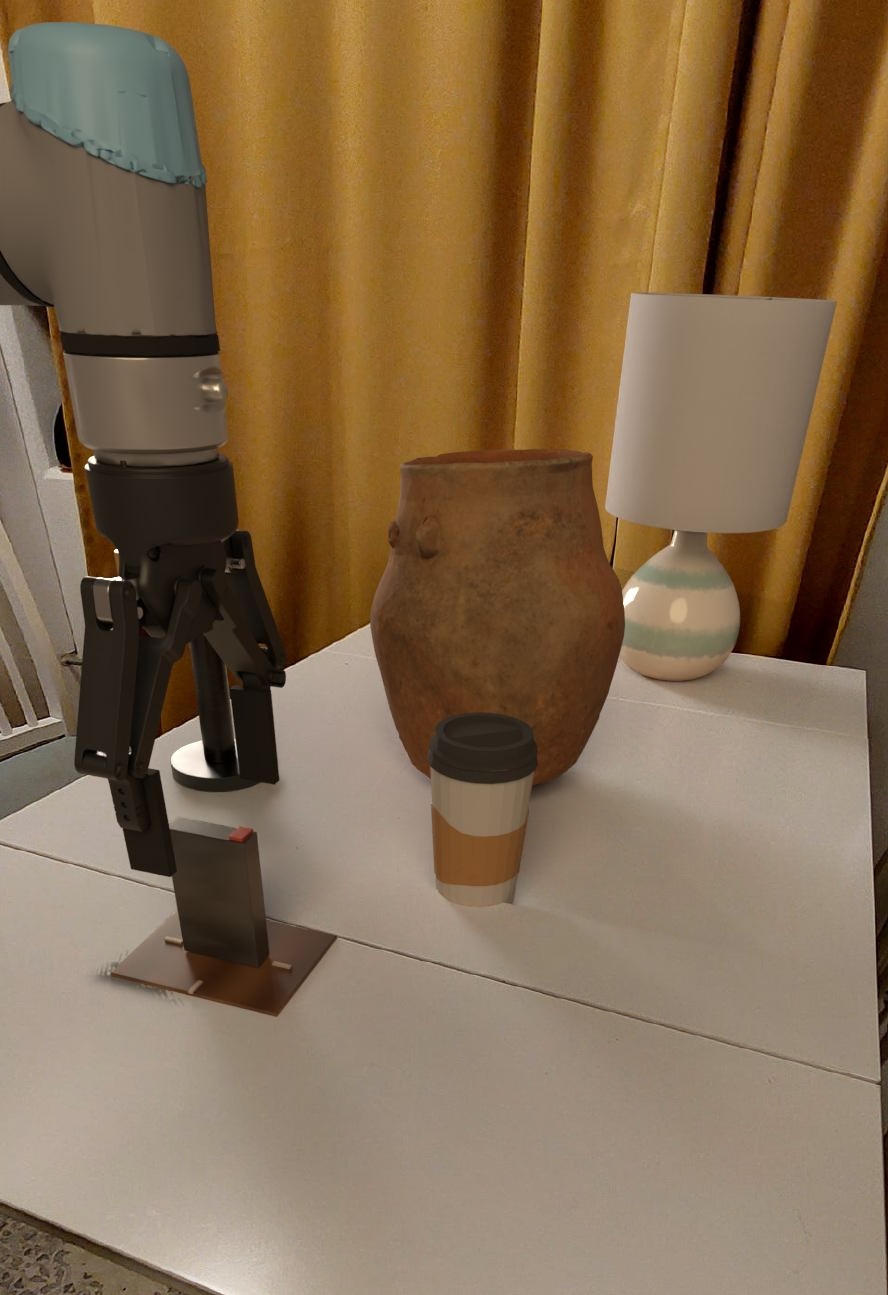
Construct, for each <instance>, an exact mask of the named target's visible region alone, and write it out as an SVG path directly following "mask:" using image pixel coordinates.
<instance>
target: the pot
mask: <svg viewBox="0 0 888 1295" xmlns="http://www.w3.org/2000/svg"><path fill="white" fill-rule="evenodd" d="M593 458H594V455H593V454H591V452H588V451H584V452H583V451H580V450H577V449H576V450H574V449H573V450H571V449H565V448H561V449H560V448H559V449H557V448H556V449H550V448H528V449H488V450H487V449H486V450H470V451H469V450H467V451H466V450H465V451H453V452H446V453H440V454H438V455H436V456H423V457H416V458H414V459H412V460H409V461H405V462H402V463H400V465H399V475H400V479H399V480H400V483H399V500H398V505H397V509H396V515H395V520H394V521H390V523H389V525H388V529H387V541H388V543H389V545H390V551H389V552H390V553H389V558H388V562H387V565H386V567H385V569H384V571H383V574H382V576H381V578H380V581H379V582H378V583H379V584H378V586H377V588H376V590H375V593H374V597H373V601H372V604H371V608H370V612H369V615H370V616H369V627H370V633H371V639H372V644H373V645H372V646H373V650H374V654H375V658H376V662H377V666H378V669H379V672H380V676H381V680H382V684H383V688H384V692H385V696H386V701H387V704H388V707H389V708H388V709H389V711H390V715H391V716H392V720H393V723H394V726H395V729H396V731H397V733H398V738H399V741H401V743H402V746H403V748H404V750H405V752H406V753H407V756H408V758H409V760H410V762H411V764H412V766H414V768H416V770H418V771H419V772H421V773H422V774H424V775H425V776H426V777H428V779H430V780H431V769H430V765H429V763H428V761H427V760H428V753H429V744H430V740H431V738H432V737H433V736H434V735H435V728H436V726H437V724H438V723H439V722H440V721H442V720H443V719H445V718H447V717H450V716H453V715H458V714H463V713H474V712H484V713H496V714H503V715H507V716H511V717H514V718H516V719H519V720H522V721H523V722H525V723H526V724H528V725H529V726H530V727H531V728H532V730H533V735H534V741H535V742H536V743H537V748H538V753H537V760H538V766H537V768H536V770H535V771H534V777H533V783H532V786H535V785H538V784H542V783H546V782H551V781H552V780H554V779H557V778H558V777H560V776H561V775H563V774H564V773H566V772H568V770H570V769H571V768H572V767H573V766H574V765H575V764H576V763H577V761H578V760H579V759H580V756H581V755H582V753H583V751H584V749H585V748H586V745H587V744H588V742H589V740H590V738H591V736H592V734H593V732H594V730H595V728H596V725H597V724H598V722H599V720H600V717H601V716H600V715H601V712H602V710H603V708H604V705H605V703H606V701H607V698H608V697H609V696H608V695H609V693H610V689H611V686H612V682H613V679H614V676H615V673H616V668H617V666H618V662H619V659H620V657H619V655H620V651H621V647H622V643H623V638H624V632H625V611H624V603H623V595H622V590H623V588H622V585H621V581H620V579H619V577H618V575H617V573H616V572H615V570H614V568H613V567H612V565H611V563H610V562H609V559H608V556H607V553H606V550H605V547H604V546H605V545H604V538H603V529H602V523H601V517H600V516H601V515H600V511H599V510H600V509H599V507H598V502H597V498H596V494H595V490H594V487H593V486H594V485H593Z"/></svg>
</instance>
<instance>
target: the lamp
mask: <svg viewBox="0 0 888 1295" xmlns="http://www.w3.org/2000/svg"><path fill="white" fill-rule="evenodd" d="M837 304H838V301H837V300H831V299H816V298H815V299H814V298H800V297H799V298H797V297H776V296H755V295H731V294H709V293H708V294H705V293H680V292H679V293H678V292H631V293H630V299H629V306H628V307H629V309H628V317H627V325H626V330H625V331H626V332H625V342H624V348H623V356H622V357H623V358H622V365H621V372H620V373H621V374H620V382H619V390H618V397H617V398H618V399H617V406H616V414H615V415H616V416H615V422H614V431H613V440H612V446H611V454H610V455H611V456H610V463H609V471H608V480H607V489H606V498H605V504H604V509H605V511H606V512H607V513H608V514H610V515H611V516H612V517H613V516H614V517H615V518H618V519H619V520H623V521H627V522H629V523H634V524H636V525H637V524H638V525H642V526H648V527H651V528H659V529H664V530H672V531H673V535H672V537H671V541H670V543H669V545H667V546H665V547H664V548H662V549H661V550H659V551H657V552H656V553H655V554H654V555H652V556H651V557H650V558H649V559H647V560H646V561H645V562H644V563H643V564H642V565H641V566H640V567H638V569H637V570H636V571H635V572H634V573H632V575H631V576H630V578H629V579H628V581H627V582H626V583H625V585H624V587H623V588H622V595H623V603H624V611H625V632H624V638H623V643H622V647H621V651H620V655H619V659H620V660H621V661H622V662H623V663H624V664H625V665H626V666H627V667H628V668H630V669H631V670H632V671H634V672H636V673H638V674H640V675H642V676H645V677H647V678H650V679H655V680H659V681H666V682H682V681H683V682H684V681H689V680H695V679H699V678H703V677H704V676H706V675H708V674H710V673H713V672H714V671H716V670H717V669H718V668H720V667H721V666H722V665H723V664H724V663H725V662H726V660H727V659H729V656H730V655H731V653H732V652H733V650H734V649H735V646H736V644H737V642H738V641H737V640H738V637H739V633H740V628H741V608H740V602H739V598H738V594H737V590H736V587H735V585H734V582H733V580H732V579H731V577H730V575H729V573H728V571H727V570H726V569H725V567H724V566H723V564H722V563H721V562H720V560H719V559H718V557H717V556H716V555H714V553H713V552H712V551H711V550H710V549H709V548H708V546H707V544H708V534H747V533H748V534H749V533H759V532H766V531H772V530H775V529H779V528H781V527H783V526H784V525H785V524H786V523H787V521H788V516H789V513H790V512H789V511H790V508H791V503H792V498H793V495H794V490H795V486H796V481H797V477H798V473H799V468H800V464H801V460H802V455H803V451H804V446H805V444H806V438H807V434H808V429H809V425H810V421H811V417H812V413H813V412H812V411H813V407H814V404H815V399H816V394H817V390H818V386H819V382H820V377H821V373H822V368H823V364H824V360H825V356H826V351H827V347H828V343H829V338H830V334H831V330H832V326H833V321H834V317H835V312H836V308H837Z"/></svg>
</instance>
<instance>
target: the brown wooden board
mask: <svg viewBox="0 0 888 1295" xmlns="http://www.w3.org/2000/svg"><path fill="white" fill-rule="evenodd" d="M266 924H267V934H268V944H269V953H270V954H269V956H268V957H267V958H266V959H265V961H264V962H263V963H262V964H261V965H260V967H259V968H256V967H252V966H248V965H244V964H239V963H235V962H231V961H226V960H222V959H218V958H214V957H209V956H205V955H201V954H197V953H192V952H188V951H185V950H184V945H183V939H182V933H181V927H180V922H179V916H178V910H177V909H176V910H174V912H173V913H172V914H170V916H169V917H167V919H165V920H164V921H163V922H162V923H161V924H160V925H159V926H158V927H157V928H156V929H155V930H154V931H153V932H152V933H150V934H149V935H148V936H147V937H146V938H145V939H144V940H143V941H142V942H141V943H140V944H139V945H138V946H137V947H136V948H135V949H133V951H131V952H130V954H129V955H128V956H126V957H125V958H124V959H123V960H122V961H121V962H120V963H119V964H118V965H117V966H116V967H114V969H113V970H111V971H110V973H109V974H110V977H113V978H117V979H121V980H124V981H129V982H133V983H136V984H137V983H138V984H142V985H146V986H149V987H153V988H157V989H162V990H166V991H168V992H169V991H170V992H173V993H177V994H182V995H186V996H190V997H194V998H198V999H201V1000H202V999H203V1000H206V1001H211V1002H214V1003H219V1004H223V1005H226V1006H231V1007H234V1008H238V1009H242V1010H247V1011H250V1012H255V1013H259V1014H263V1015H267V1016H271V1017H275V1018H278V1017H279V1016H280V1014H281V1013H282V1011H283V1010H284V1009H285V1008H286V1007H287V1005H288V1004H289V1003H290V1001H291V1000H292V999H293V997H294V996H295V995H296V993H297V992H298V990H299V989H300V988H301V987H302V985H303V984H304V983H305V981H306V980H307V979H308V978H309V976H310V975H311V973H312V972H313V971H314V970H315V968H316V967H317V966H318V964H320V962H321V961H322V959H323V958H324V956H325V955H327V953H328V951H329V950H330V948H331V947H332V946H333V945H334V943H335V942H336V941H337V939H338V935H336V934H331V933H328V932H327V933H326V932H323V931H318V930H314V929H310V928H304V927H300V926H295V925H290V924H286V923H283V922H282V923H281V922H277V921H272V920H268V919H266Z"/></svg>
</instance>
